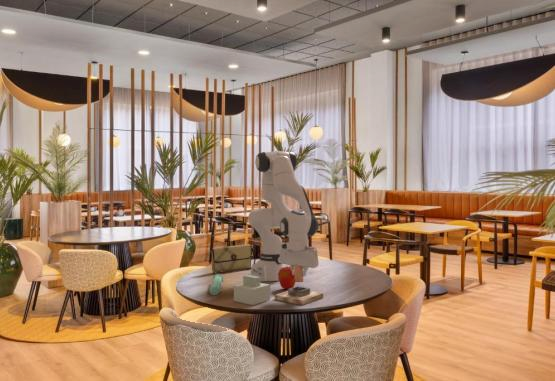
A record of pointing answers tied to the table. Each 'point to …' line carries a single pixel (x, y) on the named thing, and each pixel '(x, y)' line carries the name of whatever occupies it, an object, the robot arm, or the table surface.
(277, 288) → the table surface
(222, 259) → the clutch purse
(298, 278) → the pin
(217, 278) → the pale green rod
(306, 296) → the socket plate
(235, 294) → the housing
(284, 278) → the apple
